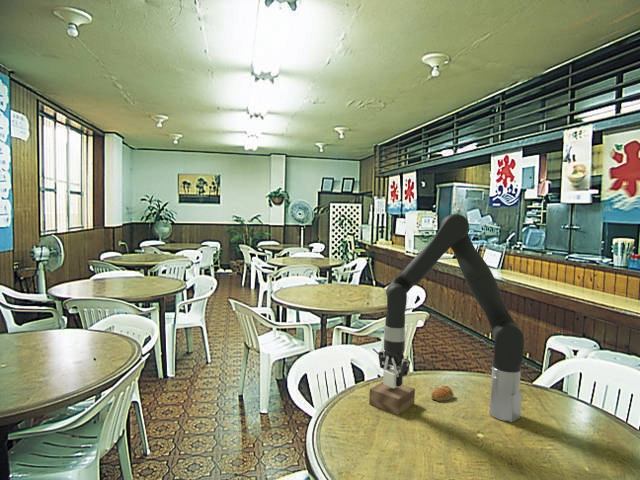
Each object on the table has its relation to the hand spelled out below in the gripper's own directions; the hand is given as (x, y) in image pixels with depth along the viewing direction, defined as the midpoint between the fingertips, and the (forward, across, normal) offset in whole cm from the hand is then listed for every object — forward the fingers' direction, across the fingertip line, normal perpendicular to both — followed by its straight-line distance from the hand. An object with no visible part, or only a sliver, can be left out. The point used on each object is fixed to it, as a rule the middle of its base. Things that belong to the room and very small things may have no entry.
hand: (392, 383), depth 159 cm
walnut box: (+8, 0, 0) cm, 8 cm away
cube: (0, 0, 0) cm, 0 cm away
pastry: (+8, -7, -21) cm, 23 cm away
